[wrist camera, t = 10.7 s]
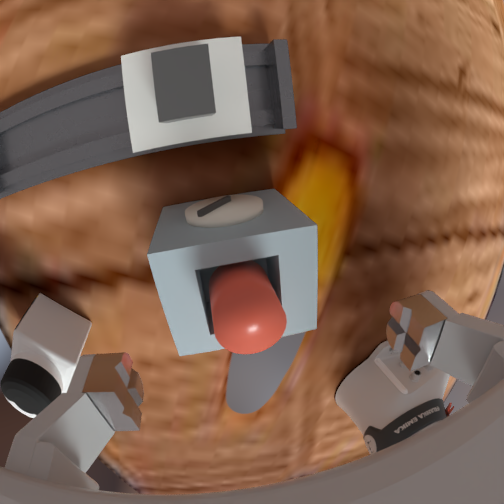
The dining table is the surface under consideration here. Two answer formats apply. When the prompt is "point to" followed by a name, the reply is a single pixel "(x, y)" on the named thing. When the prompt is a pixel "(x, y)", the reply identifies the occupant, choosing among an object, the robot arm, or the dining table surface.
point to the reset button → (245, 308)
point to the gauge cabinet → (232, 260)
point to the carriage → (186, 92)
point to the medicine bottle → (43, 355)
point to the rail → (120, 120)
